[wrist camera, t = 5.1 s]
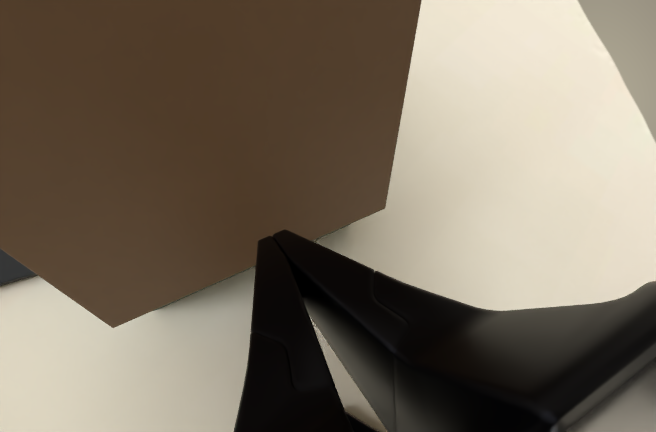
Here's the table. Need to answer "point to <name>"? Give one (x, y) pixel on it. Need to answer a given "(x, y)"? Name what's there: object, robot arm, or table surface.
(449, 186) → the table surface
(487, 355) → the robot arm
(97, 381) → the table surface
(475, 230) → the table surface
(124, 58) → the lid
